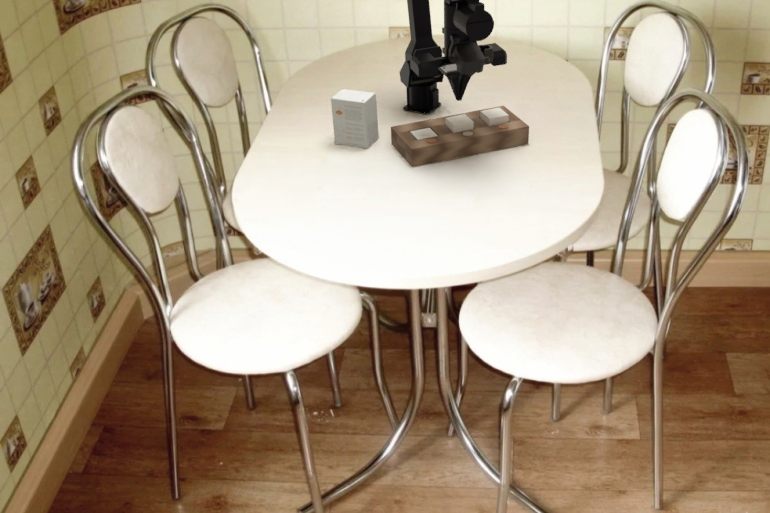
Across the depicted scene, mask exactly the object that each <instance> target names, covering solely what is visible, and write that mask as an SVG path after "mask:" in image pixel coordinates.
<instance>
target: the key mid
mask: <svg viewBox="0 0 770 513" xmlns="http://www.w3.org/2000/svg"><path fill="white" fill-rule="evenodd" d="M445 121H446V127H447V128H448V129H449V130H450V131H451V132H452V133H457V132H462V131H467V130H472V129H474V122H473V121H472V120H471V119H470V118H469V117H468V116H466V115H465V114H463V115H457V116H452V117H447V118H445Z"/></svg>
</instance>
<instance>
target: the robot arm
mask: <svg viewBox="0 0 770 513" xmlns="http://www.w3.org/2000/svg"><path fill="white" fill-rule="evenodd" d="M406 2H407V12H408V22H409V32H410V33H409V34H410V40H409V43H408V44H407V48H406V49H405V52H404V58H405V59H404V60H405V61H404V62H403V65H401V66H402V67H401V68H400V70H399V77H400V82H401V83H402V84H403V85H404V86H405V87H406V88H405V89H406V90H405V91H406V105H404V106H403V107H402V109H403V110H405V111H409V112H412V113H418V114H422V115H423V114H424V115H428V114H430V113H432V112H433V111H435V109H437V108H439V107H441V105H442V102H440V101H439V100H440V98H439V97H440V96H439V94H440V93H439V92H440V91H439V88H438V83H443V81H444V78H445V77H446V78H447V80H448V83H449V86H450V87H451V91H452V93H453V95H454V98H455V100H456V101H458V102H459V101H462V99H463V98H464V94H465V92H466V89H467V86H468V84H469V82H470V80H471V78H472V77H473V76H474V75H475V74H476V73H477V74H479V73H482V72H483V71H484V66H485V65H491V66H493V67H496V66H503V65H506V64H507V63H508V54H507V51H506V50H505V49H504V48H503V47H501V46H500V45H499V44H497V43H496V42H493V43H492V42H491V43H486V44H478V42H482V41H484V40H486V39H487V38H488V37H490V36H491V34H492V33H493V30H494V26H495V21H494V18H493V16H492V15H491V13H490V12H489V11H487V10H486V9H485V4H484V3H483V2H480V0H443V27H442V28H441V33H442V34H443V35H444V36H443V39H444V41H443V42H444V44H443V47H441V45H438V43H436V41H435V40H434V38H433V30H432V18H431V17H432V16H431V10H430V9H431V7H430V6H431V5H430V0H406ZM444 76H445V77H444Z"/></svg>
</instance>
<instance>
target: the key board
mask: <svg viewBox="0 0 770 513" xmlns="http://www.w3.org/2000/svg"><path fill="white" fill-rule="evenodd" d="M494 108H501V109H502V110H503V111H504V112H506V113H507V114H508V115H509V122H508V123H503V124H498V125H493V126H488V125H487V124H486V123H484V122H483V121H482V120H481V119H480V113H481V111H484V110H489V109H494ZM463 114H465V115H466V116H468V117H469V118H470V119H471V120H472V121H473V122H474V129H472V130H467V131H462V132H457V133H452V132H451V131H450V130H449V129H448V128H447V127H446V121H445V118H447V117H452V116H457V115H463ZM425 128H430V129H431V130H432V131H433V132H434V133H436V134H437V135H438V136H436V137H431V138H426V139H421V140H416V139H415V138H414V137H413V136H412V135H411V134H410V131H415V130H420V129H425ZM529 134H530V125H528V124H527V123H526V122H524V121H523V120H522V119H521V118H520V117H518V116H517V115H516V114H515V113H513V112H512V111H511V110H510V109H508V108H507V107H506V106H505V105H499V106H493V107H488V108H483V109H479V110H473V111H468V112H462V113H458V114H456V113H455V114H451V115H447V116H446V115H445V116H441V117H435V118H431V119H430V118H429V119H424V120H419V121H414V122H410V123H404V124H399V125H392V126H390V139H391V143H390V144H391V146H392V147H393V148H394V149H395V150H396V151H397V152H398V153H399V155H401V157H402V158H403V159H404V160H405V161H406V163H408V164H409V165H410V167H411V168H416V167H421V166H425V165H431V164H435V163H441V162H445V161H450V160H455V159H459V158H460V159H461V158H464V157H470V156H475V155H479V154H485V153H490V152H495V151H500V150H505V149H509V148H516V147H519V146H525V145H529V139H530V136H529Z"/></svg>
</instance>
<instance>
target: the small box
mask: <svg viewBox="0 0 770 513" xmlns="http://www.w3.org/2000/svg"><path fill="white" fill-rule="evenodd" d="M330 102H331V104H330V105H331V114H332V126H333V135H334V138H333V139H334V144H336V145H341V146H348V147H353V148H354V147H357V148H362V149H369V148H370V147H372V145H374V143H375V142H376V141H377V140H379V137H380V136H379V124H378V123H379V122H378V108H377V94H376V92H372V91H371V92H370V91H361V90H354V89H346V88H345V89H344V88H343V89H341V90H340V91H339V92H337V93H335V95H334V96H332V97H331V98H330Z"/></svg>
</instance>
